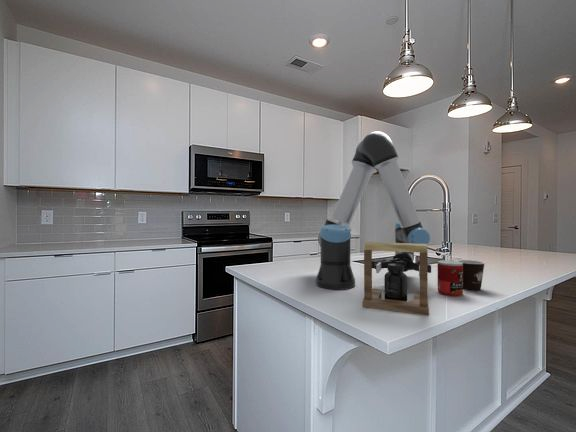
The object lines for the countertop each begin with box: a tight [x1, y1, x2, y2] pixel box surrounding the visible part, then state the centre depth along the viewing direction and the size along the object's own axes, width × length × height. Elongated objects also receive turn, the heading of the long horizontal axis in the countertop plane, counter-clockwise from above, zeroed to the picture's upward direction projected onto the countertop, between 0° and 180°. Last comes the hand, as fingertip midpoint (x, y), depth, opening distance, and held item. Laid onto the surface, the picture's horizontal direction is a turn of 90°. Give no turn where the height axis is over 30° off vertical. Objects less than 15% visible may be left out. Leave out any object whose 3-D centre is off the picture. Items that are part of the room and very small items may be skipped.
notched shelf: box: [362, 241, 430, 316], centre depth 91 cm, size 15×18×19 cm
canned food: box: [437, 259, 464, 297], centre depth 102 cm, size 8×8×11 cm
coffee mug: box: [457, 259, 485, 292], centre depth 108 cm, size 12×9×10 cm
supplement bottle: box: [383, 264, 408, 302], centre depth 92 cm, size 7×7×12 cm
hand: (398, 270), depth 98 cm, fingers open, 13 cm apart
